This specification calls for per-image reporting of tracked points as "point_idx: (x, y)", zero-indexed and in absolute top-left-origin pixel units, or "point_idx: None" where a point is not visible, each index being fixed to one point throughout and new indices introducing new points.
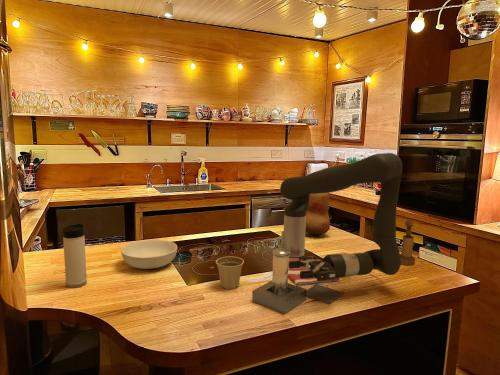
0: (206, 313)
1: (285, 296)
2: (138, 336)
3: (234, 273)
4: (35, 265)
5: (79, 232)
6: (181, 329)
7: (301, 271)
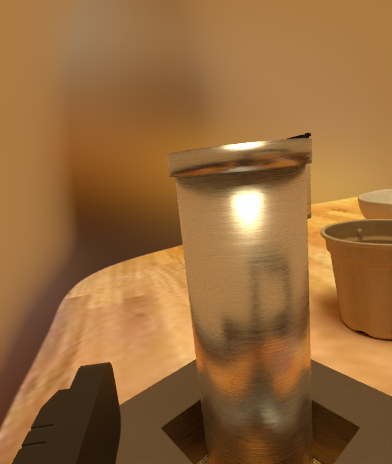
0: (187, 296)
1: (155, 444)
2: (141, 259)
3: (341, 269)
4: (342, 200)
5: None
6: (138, 280)
7: (94, 365)
